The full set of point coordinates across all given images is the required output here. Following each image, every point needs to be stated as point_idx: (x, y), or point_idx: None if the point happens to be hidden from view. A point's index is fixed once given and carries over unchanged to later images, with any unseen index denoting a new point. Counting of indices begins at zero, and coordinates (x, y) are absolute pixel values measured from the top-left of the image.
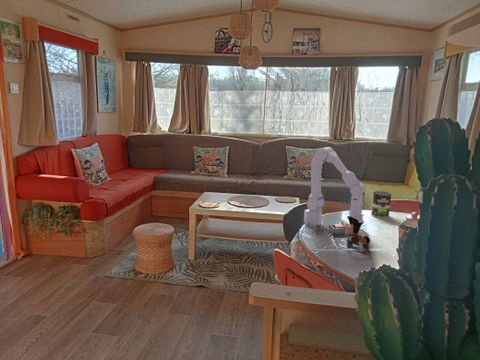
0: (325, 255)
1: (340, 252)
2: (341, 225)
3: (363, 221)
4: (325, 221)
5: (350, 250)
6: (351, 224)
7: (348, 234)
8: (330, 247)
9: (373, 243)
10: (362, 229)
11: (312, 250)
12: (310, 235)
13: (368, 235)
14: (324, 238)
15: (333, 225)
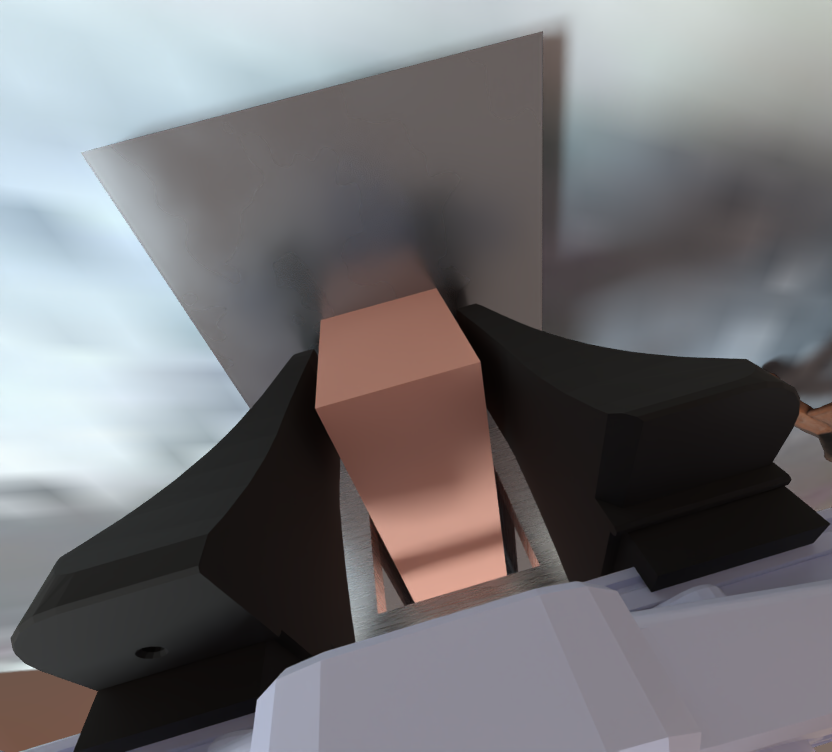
0: (802, 500)
1: (812, 439)
2: (465, 572)
3: (774, 386)
4: (18, 609)
5: (821, 378)
6: (382, 483)
7: (487, 412)
8: None
9: (790, 39)
10: (124, 159)
11: None
12: None
13: (517, 77)
14: None
15: (407, 603)
